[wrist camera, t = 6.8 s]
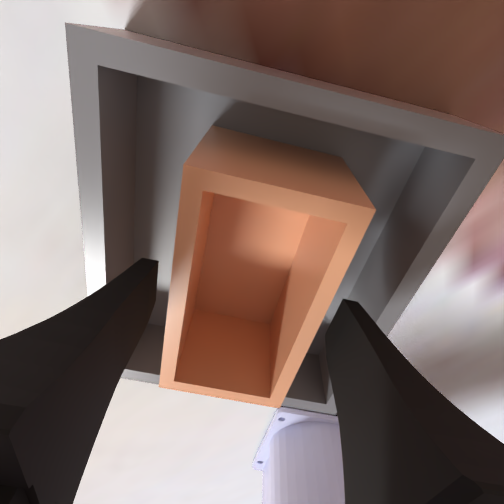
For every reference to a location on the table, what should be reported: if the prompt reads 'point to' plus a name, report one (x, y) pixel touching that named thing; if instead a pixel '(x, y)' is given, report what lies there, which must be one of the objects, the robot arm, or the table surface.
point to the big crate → (269, 127)
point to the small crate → (255, 263)
